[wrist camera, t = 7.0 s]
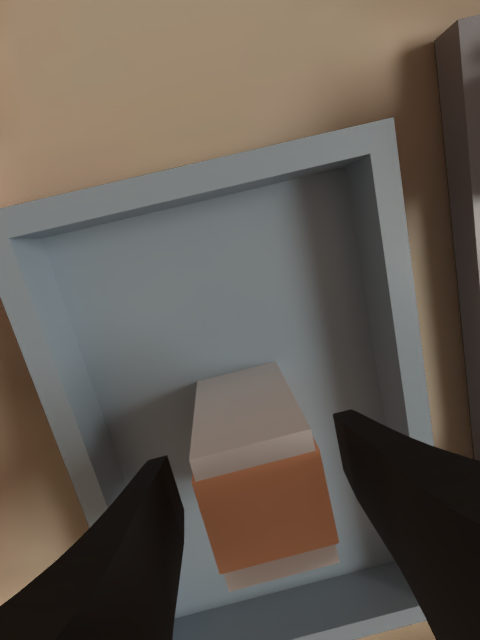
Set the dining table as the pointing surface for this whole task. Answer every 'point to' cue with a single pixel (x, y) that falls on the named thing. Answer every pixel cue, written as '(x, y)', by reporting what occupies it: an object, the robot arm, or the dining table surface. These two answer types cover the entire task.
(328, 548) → the fuse marked
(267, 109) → the dining table surface
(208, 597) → the tray
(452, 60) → the block
